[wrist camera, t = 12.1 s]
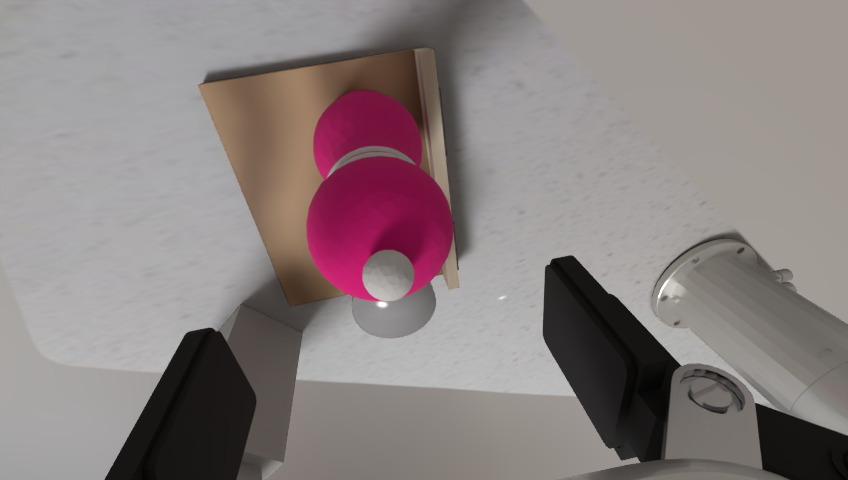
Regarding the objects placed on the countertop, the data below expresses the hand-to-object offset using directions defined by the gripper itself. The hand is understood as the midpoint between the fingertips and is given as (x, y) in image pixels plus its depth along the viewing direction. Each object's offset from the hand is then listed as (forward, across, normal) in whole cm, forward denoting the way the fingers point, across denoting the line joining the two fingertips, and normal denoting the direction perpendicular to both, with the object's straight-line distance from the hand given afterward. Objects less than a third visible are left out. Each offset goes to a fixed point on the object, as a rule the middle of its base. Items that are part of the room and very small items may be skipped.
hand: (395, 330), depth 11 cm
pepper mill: (+22, 0, 0) cm, 22 cm away
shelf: (+23, +3, +4) cm, 23 cm away
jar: (+22, +1, +10) cm, 24 cm away
